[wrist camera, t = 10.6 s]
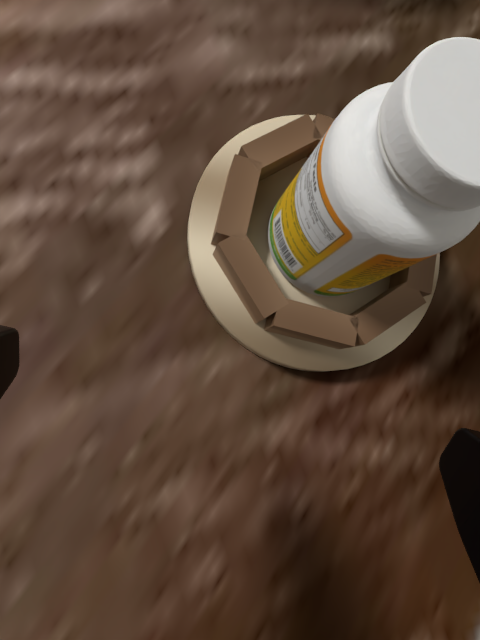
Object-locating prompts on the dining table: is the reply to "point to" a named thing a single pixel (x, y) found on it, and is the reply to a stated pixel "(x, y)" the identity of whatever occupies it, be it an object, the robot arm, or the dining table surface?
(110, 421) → the dining table surface
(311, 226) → the supplement bottle
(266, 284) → the collar stand
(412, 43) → the dining table surface
